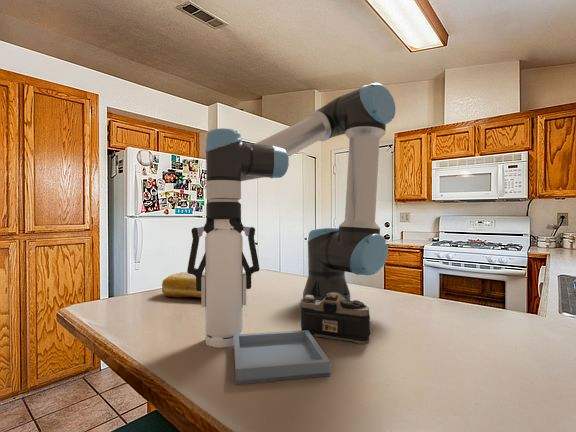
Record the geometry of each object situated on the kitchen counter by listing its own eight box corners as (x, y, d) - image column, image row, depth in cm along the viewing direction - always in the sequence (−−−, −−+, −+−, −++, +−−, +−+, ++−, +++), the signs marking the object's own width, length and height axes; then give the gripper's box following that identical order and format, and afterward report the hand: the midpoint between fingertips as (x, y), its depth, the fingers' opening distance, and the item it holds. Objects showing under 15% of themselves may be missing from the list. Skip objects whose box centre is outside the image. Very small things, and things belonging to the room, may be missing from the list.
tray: (308, 341, 74) (308, 329, 74) (330, 375, 58) (330, 361, 58) (233, 346, 71) (233, 334, 71) (235, 384, 55) (235, 369, 55)
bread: (175, 290, 124) (175, 269, 124) (244, 293, 119) (244, 271, 119) (154, 299, 111) (154, 275, 111) (230, 303, 106) (230, 278, 106)
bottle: (235, 348, 70) (234, 213, 70) (198, 345, 71) (198, 213, 71) (247, 335, 78) (247, 213, 77) (214, 332, 79) (214, 213, 79)
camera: (375, 331, 80) (375, 289, 80) (367, 347, 71) (367, 299, 71) (312, 323, 86) (312, 284, 86) (297, 336, 77) (297, 292, 77)
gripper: (269, 202, 80) (269, 298, 80) (176, 201, 76) (177, 302, 76) (273, 200, 72) (273, 306, 73) (171, 200, 69) (171, 312, 69)
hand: (224, 304), depth 74 cm, fingers closed on bottle, 8 cm apart
